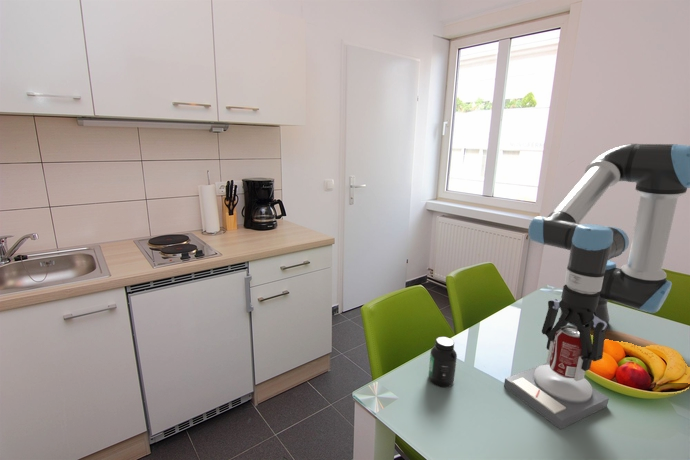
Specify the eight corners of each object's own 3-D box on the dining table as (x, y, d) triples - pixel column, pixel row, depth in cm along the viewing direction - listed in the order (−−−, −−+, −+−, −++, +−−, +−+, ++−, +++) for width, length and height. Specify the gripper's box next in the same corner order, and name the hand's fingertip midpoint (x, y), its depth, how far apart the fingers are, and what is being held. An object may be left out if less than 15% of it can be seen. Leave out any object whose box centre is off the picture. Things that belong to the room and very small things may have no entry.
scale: (548, 369, 103) (550, 357, 102) (606, 406, 89) (610, 392, 88) (503, 386, 96) (505, 373, 95) (560, 429, 82) (563, 414, 81)
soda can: (584, 382, 88) (593, 339, 85) (554, 378, 89) (563, 335, 86) (572, 366, 94) (581, 325, 91) (545, 362, 96) (553, 322, 93)
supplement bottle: (426, 384, 96) (430, 345, 93) (429, 369, 102) (433, 332, 99) (452, 390, 93) (457, 350, 90) (454, 375, 100) (459, 337, 97)
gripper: (535, 276, 93) (521, 353, 99) (617, 308, 76) (595, 399, 81) (553, 272, 96) (539, 347, 102) (636, 302, 79) (614, 390, 85)
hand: (564, 370), depth 92 cm, fingers closed on soda can, 7 cm apart
